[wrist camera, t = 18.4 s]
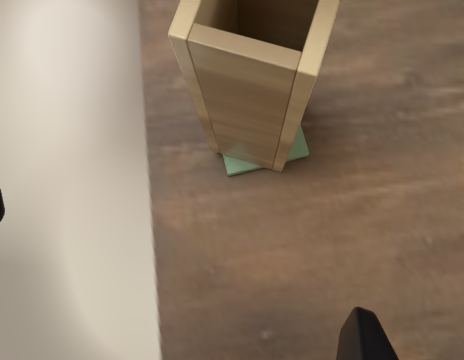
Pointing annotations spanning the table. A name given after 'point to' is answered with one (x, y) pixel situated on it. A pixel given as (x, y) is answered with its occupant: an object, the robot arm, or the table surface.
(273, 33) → the square pencil holder
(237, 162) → the coat peg
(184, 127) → the table surface
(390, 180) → the table surface
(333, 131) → the table surface
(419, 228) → the table surface
